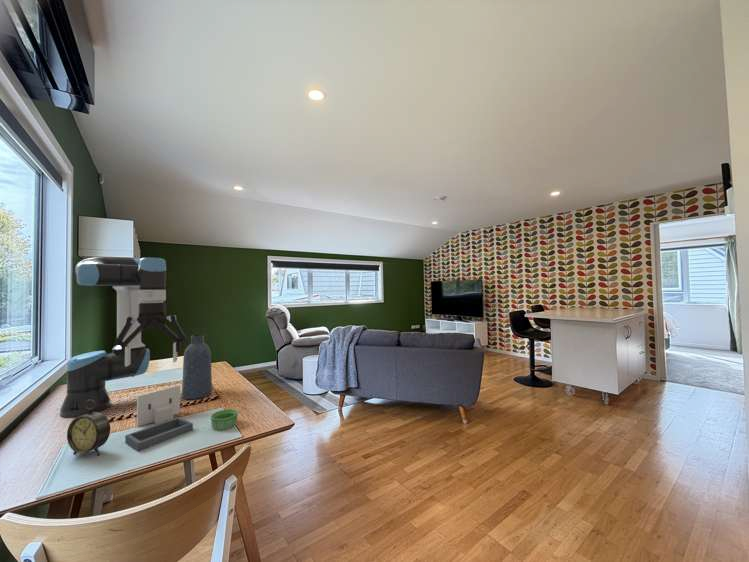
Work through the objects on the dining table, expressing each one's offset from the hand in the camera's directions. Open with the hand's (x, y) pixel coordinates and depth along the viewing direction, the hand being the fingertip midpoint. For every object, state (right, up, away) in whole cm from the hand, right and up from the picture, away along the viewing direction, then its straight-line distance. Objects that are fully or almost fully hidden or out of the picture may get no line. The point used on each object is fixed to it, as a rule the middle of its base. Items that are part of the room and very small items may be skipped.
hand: (152, 363), depth 103 cm
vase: (-6, -26, +36) cm, 45 cm away
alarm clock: (-10, -24, -12) cm, 29 cm away
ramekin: (+23, -24, +5) cm, 34 cm away
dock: (+5, -24, -3) cm, 25 cm away
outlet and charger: (-1, -24, +8) cm, 26 cm away
